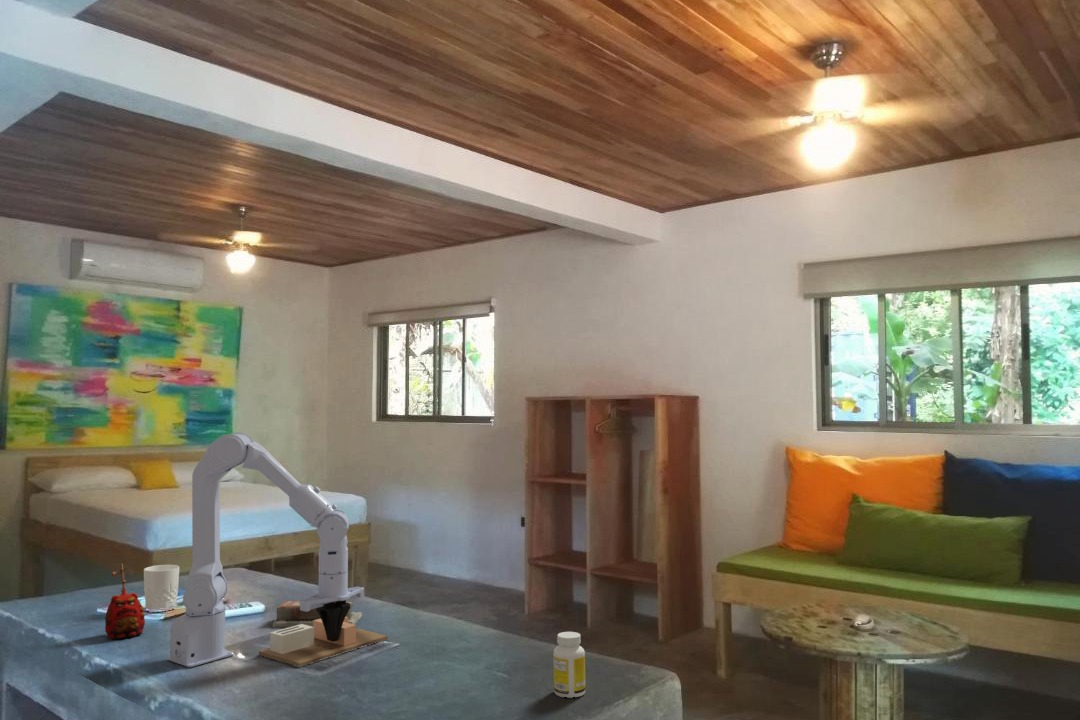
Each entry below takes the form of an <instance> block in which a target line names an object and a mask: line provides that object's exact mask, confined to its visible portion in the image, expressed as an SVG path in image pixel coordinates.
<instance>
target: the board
mask: <svg viewBox="0 0 1080 720" xmlns="http://www.w3.org/2000/svg"><path fill="white" fill-rule="evenodd" d="M388 637H389V636H388V635H387V634H386V635H385V634H383V633H378V632H375V631H374V632H373V631H369V630H366V629H362V628H357V627H356V643H353V644H349V645H346V646H342V645H338V644H335V643H331V642H327V641H324V640H320V639H316V638H314V645H311V646H308V647H305V648H301V649H298V650H295V651H291V652H288V653H284V654H280V653H277V652H274V651H270V647H268V648H265V649H261V650H258V656H260V655H261V656H260V657H263V656H264V657H265V658H267V657H268V658H267V659H270V658H271V659H270V660H273V659H275V660H274V661H276V660H280V661H283V662H286V663H289V664H293V665H296V666H303V665H306V664H309V663H311V662H315V661H318V660H320V659H323V658H326V657H329V656H333V655H336V654H339V653H342V652H345V651H349V650H352V649H355V648H359V647H361V646H365V645H369V644H372V643H375V642H379V641H382V642H384V640H385V641H388ZM379 643H380V642H379ZM369 646H370V645H369ZM283 662H282V663H283ZM286 663H285V664H286ZM289 664H288V665H289Z"/></svg>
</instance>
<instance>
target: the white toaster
mask: <svg viewBox="0 0 1080 720" xmlns="http://www.w3.org/2000/svg"><path fill="white" fill-rule="evenodd" d="M269 633H270V634H269V635H270V636H269V648H270V651H274V652H277V653H280V654H284V653H288V652H291V651H295V650H298V649H301V648H305V647H308V646H311V645H314V627H312V626H308V625H304V624H300V625H296V626H293V627H284V628H282V629H278V630H274V631H271V632H269Z"/></svg>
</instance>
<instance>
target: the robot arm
mask: <svg viewBox="0 0 1080 720" xmlns="http://www.w3.org/2000/svg"><path fill="white" fill-rule="evenodd" d="M240 465H242V466H241V468H243V469H248V470H249V469H250V470H255V471H259V472H260V473H261V474H262V475H263V476H265V477H266V478H267V479H268V480H270V482H272V483H273V484H274V485H275V486H276V487H278V488H279V490H281V491H282V492H283V493H284V494H286V495H287V496H288V499H289V501H288V502H289V503H288V504H289V507H290V508H291V509H292V510H293V511H295V512H296V513H297V515H299V516H300V517H301V518H302V519H303V520H305V521H306V523H307V524H308V525H310V526H311V527H313V528H316V533H317V535H318V538H319V550H318V593H317V594H313V595H312V596H309V597H307V598H304V599H301V600H299V601H300V610H301V611H305V612H307V611H310V610H311V609H315V608H316V611H317V612H318V614H319V616H320V618H321V620H322V622H323V625H324V628H325V632H326V636H327V640H329V641H332V642H334V641H338V639H339V635H340V631H341V627H342V624H343V621H344V619H345V617H346V615H347V613H348V611H349V609H350V603H346V602H347V601H349V600H354V599H357V598H359V599H361V598H364V597H365V587H362V586H353V587H348V586H349V583H348V581H349V580H348V579H349V564H348V563H349V548H348V535H347V534H348V530H349V527H350V522H349V521H350V520H349V518H348V516H347V515H346V513H345V511H343V510H342V509H338V505H336V503H334V504H332V503H331V502H330V501H328V499H326V497H324V496H323V495H322V494H321V493H320V492H321V490H322V489H321V488H320V487H318V486H317V485H316V486H315V487H313V485H312V484H310V483H309V484H301V483H300V482H299V481H298V480H297V479H296V478H295V477H294V476H293V475H292V474H291V473H290V472H289V471H288V469H286V468H285V467H284V466H283V465H282V464H281V463H280V462H279V461H278V460H277V459H276V458H275V457H274V456H273V455H272V454H271V453H270V452H269V451H268V450H267V449H265V448H264V447H263V446H262V445H261V444H260V443H259V442H257V441H254V440H253V439H252V437H251V436H249V434H246V433H244V432H233V433H231V434H230V433H229V434H228V433H226V434H223V435H220V436H219V437H217V439H215V440H214V441H213V442H211V443H210V444H208V446H207V447H206V450H205V452H204V453H203V455H202V457H201V458H200V459H199V461H198V463H197V465H196V466H195V468H194V469H193V471H192V475H191V479H192V480H191V481H192V482H191V483H192V484H191V485H192V486H191V487H192V489H191V491H192V492H191V493H192V495H191V496H192V497H191V498H192V504H191V505H192V506H191V508H192V512H191V513H192V515H191V516H192V518H191V521H192V526H191V528H192V529H191V530H192V531H191V532H192V533H191V535H192V537H191V538H192V543H191V545H192V547H191V548H192V553H191V554H192V556H191V557H192V564H191V566H190V570H189V573H188V576H187V577H188V578H187V579H188V580H187V585H186V588H185V590H184V592H183V596H182V601H183V606H184V607H185V613H184V614H183V615H181V616H179V617H176V618H174V619H173V620H172V623H171V626H170V637H169V638H170V641H169V642H170V643H169V644H170V646H169V647H170V649H169V650H170V651H169V657H167V660H168V661H170V662H173V663H176V664H179V665H180V666H184V667H186V668H193V667H196V666H200V665H202V664H203V665H204V664H207V663H210V662H214V661H217V660H220V659H225V658H227V657H230V656H231V657H232V656H234V654H235V653H234V651H230V650H228V649H226V647H225V645H226V641H225V640H226V605H225V604H224V602H223V599H224V598H225V596H226V595H227V592H228V588H229V587H228V586H229V585H228V582H227V579H226V577H225V576H224V572H223V567H224V566H223V564H222V562H221V548H220V546H221V545H220V544H221V543H220V542H221V537H220V536H221V535H220V533H221V525H220V524H221V523H220V522H221V519H220V518H221V517H220V515H221V513H220V511H221V510H220V508H221V507H220V505H221V504H220V499H221V496H220V494H221V493H220V490H221V489H220V486H221V485H220V482H221V480H222V479H223V478H224V477H225V476H226V475H227V474H228V473H230V472H231V471H232V470H233V469H234V468H236V467H238V466H240Z"/></svg>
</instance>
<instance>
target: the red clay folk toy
mask: <svg viewBox="0 0 1080 720" xmlns="http://www.w3.org/2000/svg"><path fill="white" fill-rule="evenodd" d="M120 566H121V568H120V569H119V571H114V570H113V571H112V573H111V577H114V576H116V575H118V574H120V575H121V579H122V581H121V583H122V588H121V593H120V594H118V595H115V594H114V595H112V596H111V599H110V603H109V605H108V607H107V610H106V612H105V617H104V618H105V619H104V621H105V622H104V623H105V626H104V628H105V633H106V635H107V638H108V639H110V640H117V639H124V638H135V637H138V636H140V635H142V634H143V630H144V628H145V626H146V625H145V624H146V619H145V616H146V615H145V608H144V607H143V605H142V603H141V601H140V600H139V598H138V594H137V593H136V592H132V593H127V589H126V585H125V584H126V582H127V581H126V580H125V570H127V568H128V567H124V565H123V563H120Z"/></svg>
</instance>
